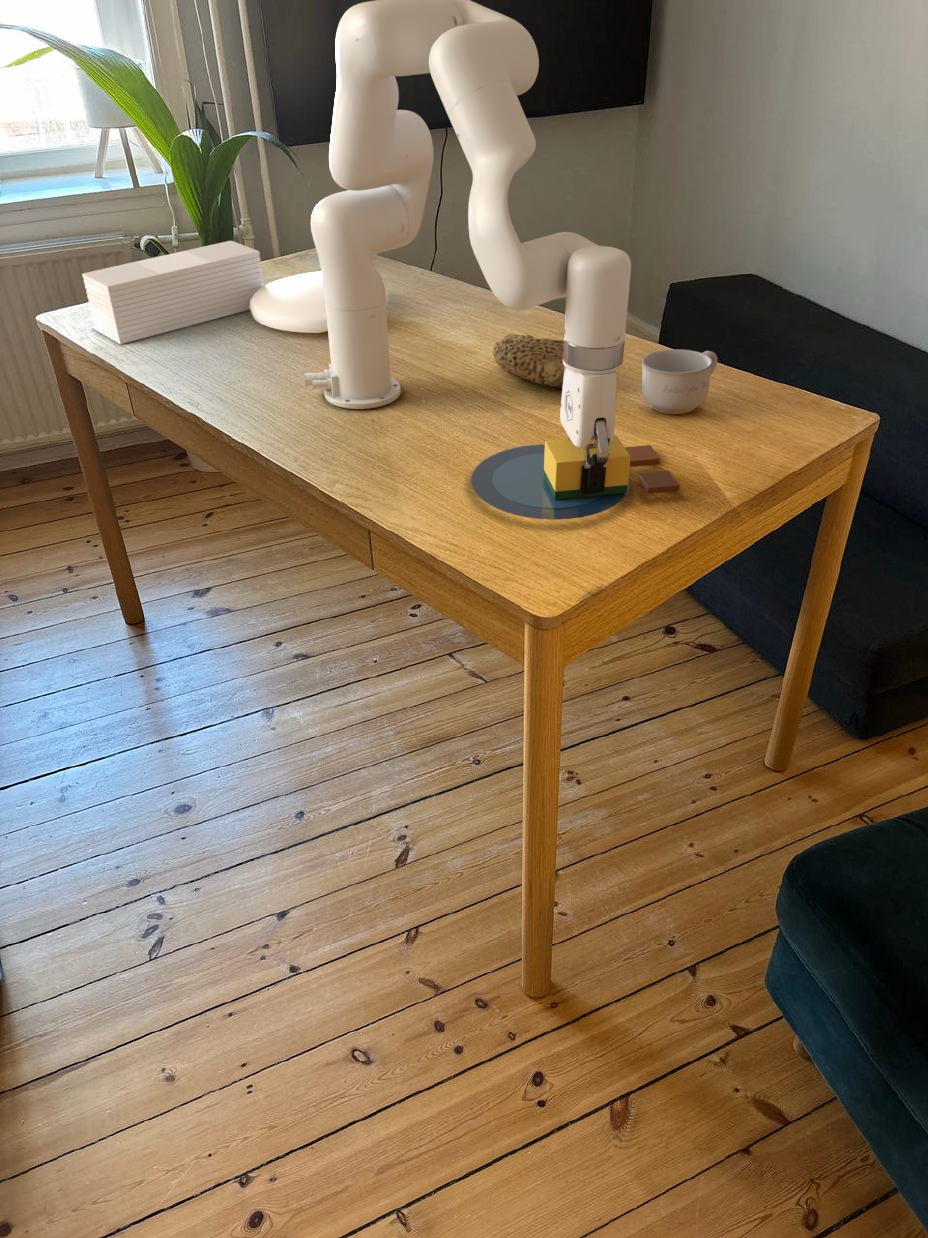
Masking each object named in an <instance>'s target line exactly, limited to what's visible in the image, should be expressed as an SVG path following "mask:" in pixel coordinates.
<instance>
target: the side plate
mask: <svg viewBox="0 0 928 1238" xmlns="http://www.w3.org/2000/svg"><path fill="white" fill-rule="evenodd" d="M544 455H545V444H531V445H523V446H517V447H513V448H509V449H505V450H502V451H500V452H496V453H495V454H492V455H490V456H488V457H487V458H485V459H483V460H482V461H481V462H480V463H478V465H477V466H475V468H474V470H473V472H472V475H471V480H470V482H471V487H472V489H473V491H474V493H475V494H476V495H477V496H478V498H480V499H481V500H482V501H483V502H485V503H487V504H488V505H489V506H491V507H493V508H495V509H497V510H499V511H502V512H505V513H508V514H511V515H514V516H518V517H523V518H529V519H536V520H555V521H557V520H559V521H560V520H572V519H578V518H584V517H589V516H593V515H596V514H599V513H602V512H605V511H607V510H609V509H611V508H613V507H615V506H616V505H617V504H619V503H621V502H622V500H623V499H625V497H626V496H627V494H628V493H629V490H630V483H631V482H630V478H629V477H628V487H627V493H620V494H610V495H599V496H589V497H578V498H568V499H557V500H555V499H554V497H553V495H552V493H551V491H550V489H549V487H548V485H547V483H546V481H545V479H544Z"/></svg>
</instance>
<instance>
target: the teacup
mask: <svg viewBox="0 0 928 1238" xmlns="http://www.w3.org/2000/svg"><path fill="white" fill-rule="evenodd" d="M641 365H642V368H641V369H642V370H641V372H642V373H641V393H642V397H643V399H644V401H645V402H646V403H647V404H648V405H649V406H651V408H652V409H653V410H655V411H657V412H659V413H661V414H666V415H667V414H668V415H682V414H683V415H684V414H687V413H691V412H692V411H694V410H695V409H696V408H697V407H699V406H700V405H702V404H703V403H704V402H705V401H706V399H707V397H708V393H709V390H710V382H711V376H712V375H713V374H714V372H715V371H716V369H717V365H718V356H717V355H716V353H715V352H714V351H710V350H704V351H703V352H700V351H696V350H691V349H681V348H680V349H679V348H678V349H671V348H669V349H661V350H656V351H653V352H649V353H648V354H646V355H645V356H643V358H642V359H641Z"/></svg>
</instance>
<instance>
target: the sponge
mask: <svg viewBox="0 0 928 1238" xmlns="http://www.w3.org/2000/svg"><path fill="white" fill-rule="evenodd" d="M493 346H494V347H493V348H492V355H493V358H494V361H495V362H496V365H497V366H499V367H500V368H501V370H503V371H506V372H508V373H509V374H511V375H512V374H513V375H515V376H518V377H520V378H521V379H524V380H525V381H530V382H531V383H534V384H537V385H540V386H548V387H553V388H563V378H564V371H565V366H564V365H563V350H564V340H562V339H552V338H538V337H537V338H536V337H534V336H533V335H530V334H526V335H523V334H514V333H511V334H510V333H509V334H507V335H503V336H502V338H499V340H498V341H495V343H494V344H493Z"/></svg>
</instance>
